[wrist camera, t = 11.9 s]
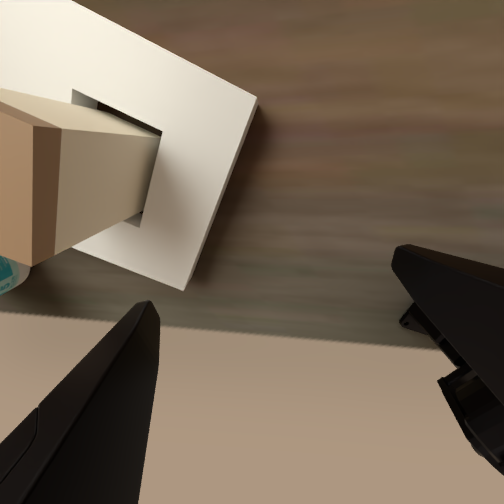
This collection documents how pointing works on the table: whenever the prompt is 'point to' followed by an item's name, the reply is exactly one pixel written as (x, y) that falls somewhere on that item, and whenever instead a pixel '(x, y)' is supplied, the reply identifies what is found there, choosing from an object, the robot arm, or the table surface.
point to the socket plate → (144, 109)
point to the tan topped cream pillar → (66, 174)
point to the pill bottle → (11, 274)
